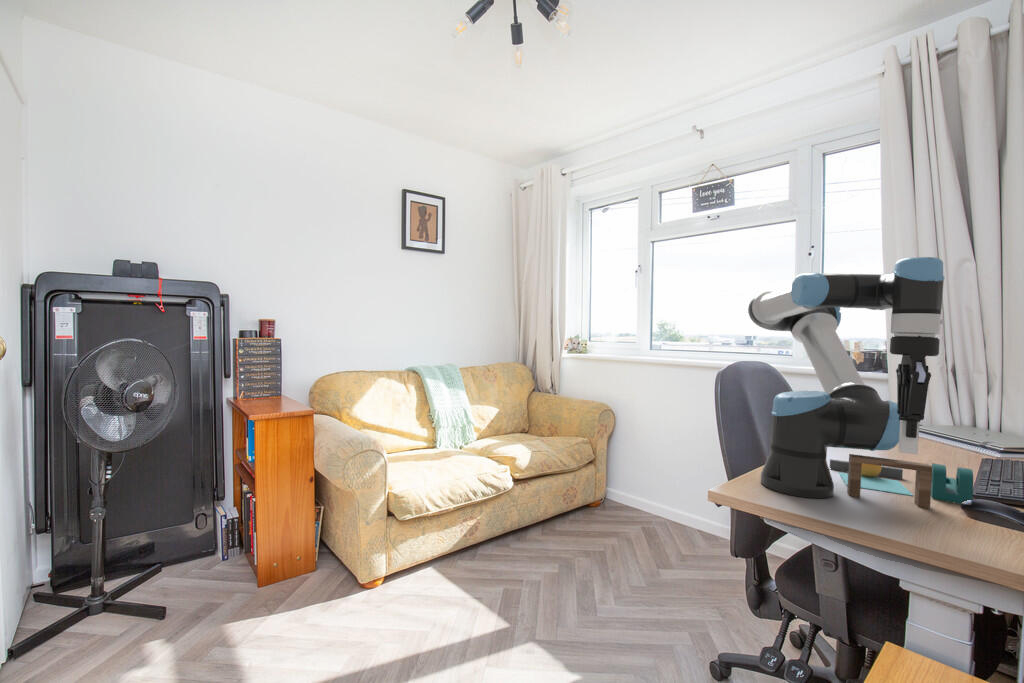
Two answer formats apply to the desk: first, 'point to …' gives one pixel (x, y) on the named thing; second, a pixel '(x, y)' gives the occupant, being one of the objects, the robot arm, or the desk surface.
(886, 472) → the wall
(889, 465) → the bridge
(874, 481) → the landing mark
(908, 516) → the desk surface
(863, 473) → the ball
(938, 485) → the bracket
